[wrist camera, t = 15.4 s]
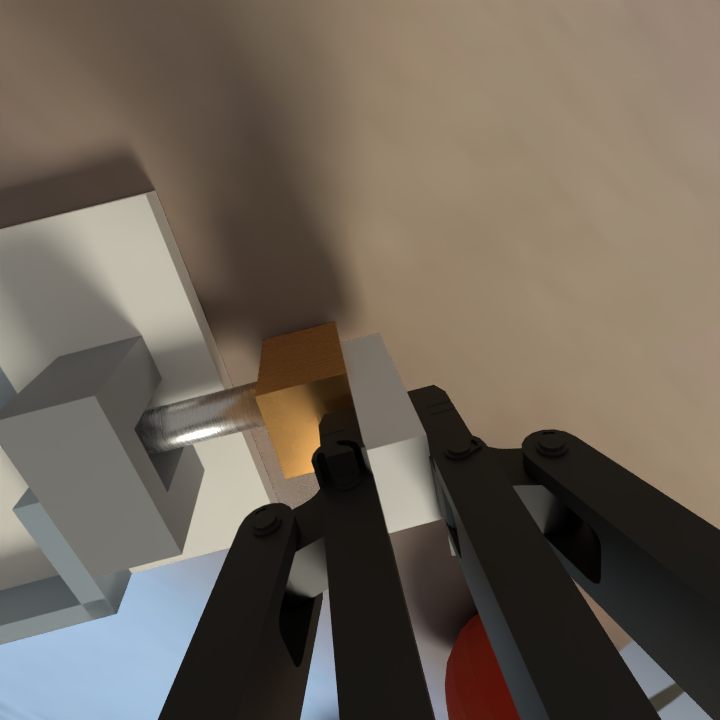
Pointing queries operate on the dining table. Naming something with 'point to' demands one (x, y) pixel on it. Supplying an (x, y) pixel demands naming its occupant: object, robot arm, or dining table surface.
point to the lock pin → (264, 401)
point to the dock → (104, 305)
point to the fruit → (476, 678)
